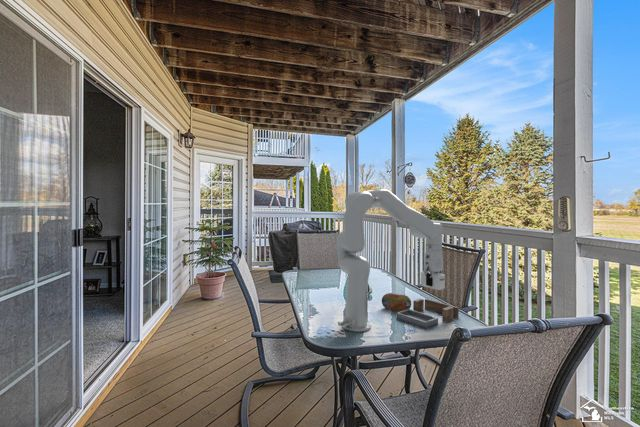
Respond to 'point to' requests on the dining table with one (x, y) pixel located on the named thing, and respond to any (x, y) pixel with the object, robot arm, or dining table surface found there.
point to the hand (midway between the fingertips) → (432, 284)
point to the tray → (417, 318)
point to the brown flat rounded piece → (396, 302)
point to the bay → (437, 308)
